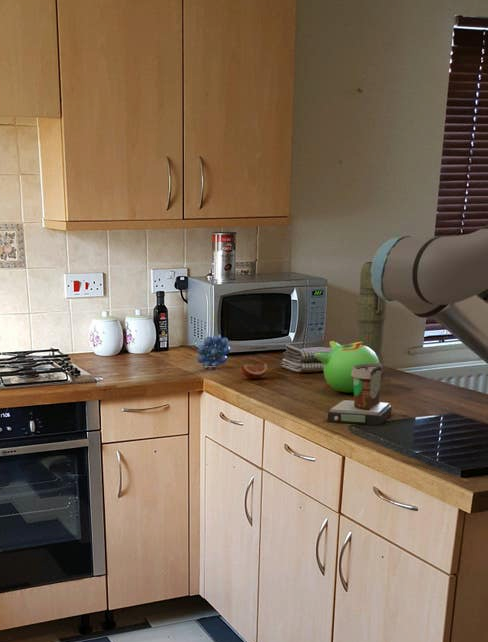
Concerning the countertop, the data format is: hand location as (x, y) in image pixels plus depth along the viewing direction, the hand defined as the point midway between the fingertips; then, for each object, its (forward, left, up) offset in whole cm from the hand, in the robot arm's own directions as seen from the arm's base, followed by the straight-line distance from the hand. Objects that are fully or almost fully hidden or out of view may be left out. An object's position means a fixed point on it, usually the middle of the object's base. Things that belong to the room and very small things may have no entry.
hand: (464, 312), depth 194 cm
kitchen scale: (+10, +25, -28) cm, 38 cm away
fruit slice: (+57, +71, -28) cm, 95 cm away
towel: (+81, +60, -28) cm, 104 cm away
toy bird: (+44, +37, -28) cm, 64 cm away
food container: (+10, +24, -25) cm, 36 cm away
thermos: (+73, +38, -28) cm, 87 cm away
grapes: (+72, +92, -28) cm, 120 cm away
